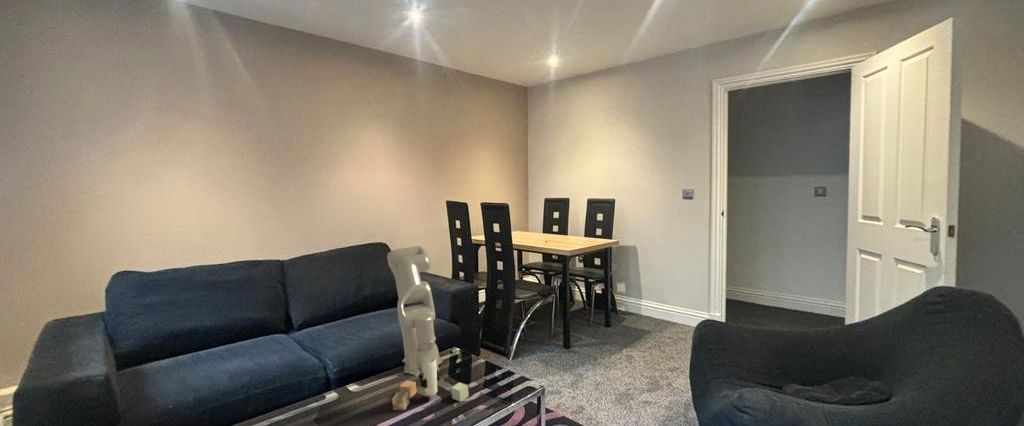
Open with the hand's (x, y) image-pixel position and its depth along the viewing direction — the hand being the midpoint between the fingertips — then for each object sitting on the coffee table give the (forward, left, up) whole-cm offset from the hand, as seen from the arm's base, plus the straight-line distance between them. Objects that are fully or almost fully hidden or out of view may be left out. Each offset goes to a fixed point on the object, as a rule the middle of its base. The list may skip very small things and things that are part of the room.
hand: (430, 383), depth 194 cm
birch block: (-6, -11, -7) cm, 15 cm away
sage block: (+11, +7, -7) cm, 14 cm away
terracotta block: (-11, -3, -7) cm, 14 cm away
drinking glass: (0, 0, -5) cm, 5 cm away
